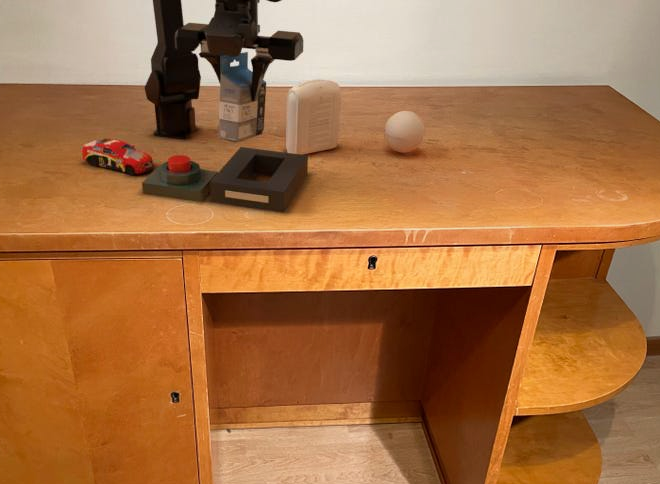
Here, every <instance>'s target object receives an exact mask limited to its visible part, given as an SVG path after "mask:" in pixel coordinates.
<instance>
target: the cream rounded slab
mask: <svg viewBox="0 0 660 484" xmlns="http://www.w3.org/2000/svg"><path fill="white" fill-rule="evenodd" d="M341 100H342V92H341V88H340V85H339V83H337V82H335V81H332V80H330V79H323V78H319V79H318V78H317V79H311V80H306V81H304V82H300V83H299V84H296V85H294V86H293V87H291V88H290V89H289V90H288V91H287V95H286V120H285V121H286V122H285V125H286V126H285V148H286V153H293V154H300V155H309V154H311V153H316V152H321V151H327V150H331V149H335V148H337V147H338V142H339V128H340V127H339V126H340V115H341V114H340V113H341Z"/></svg>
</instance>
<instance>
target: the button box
mask: <svg viewBox="0 0 660 484" xmlns="http://www.w3.org/2000/svg"><path fill="white" fill-rule="evenodd" d="M218 172H219V171H217V170H211V169H210V170H209V169H201V165H200V164H199V163H198V162H196V161H194V160H191V171H188V172H185V173H174V172H170V171H169V169H168V161H165V162H163V163H160V164H159V166H158V167H156V169H155V170H154V171H152V173H150V175H148V176H147V177H146V178H145V179H144V180H143V181H142V182H141V188H142V194H145V195H152V196H158V197H164V198H172V199H178V200H179V199H180V200H186V201H192V202H199V203H201V202H203V201H204V200H205V198H207V195H208V194H210V193H211V187H210V181H211V180H212V179H213V178H214V177H215V176H216V175H217V173H218Z"/></svg>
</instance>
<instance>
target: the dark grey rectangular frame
mask: <svg viewBox="0 0 660 484" xmlns="http://www.w3.org/2000/svg"><path fill="white" fill-rule="evenodd" d="M308 167H309V154H303V155H300V154H293V153H288V152H283V151H275V150H268V149H262V148H254V147H247V146H246V147H244V146H240V147H239V148H238V149H237V150H236V151H235V153H234V154H233V155H232V156H231V157H230V159H228V161H227V162H226V163H225V164H224V165H223V166H222V168H220V170H219V171H217V172H218V173H217V175H216V176H215V177H214V178H213V179H212V180H211V181H210V187H211V191H210V202H211V203H213V204H221V205H229V206H234V207H235V206H236V207H243V208H249V209H256V210H263V211H264V210H265V211H271V212H275V213H276V212H277V213H285V211H286V210H287V208H288V207H289V205H290V204H291V202H292V200H293V199H294V198H295V197H296V196H295V195H296V194H297V192H298V191H299V189H300V187H301V186H302V184H303V183H304V181H305V180H306V178H307V177H308V171H309V170H308ZM255 175H262V176H269V177H270V179H269V180H268V182H264V181H258V180H252V179H253V178H254V177H255Z"/></svg>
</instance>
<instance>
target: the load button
mask: <svg viewBox="0 0 660 484" xmlns="http://www.w3.org/2000/svg"><path fill="white" fill-rule="evenodd" d="M191 161H192V160H191V158H190V157H189V156H188V155H183V154H177V155H172V156H169V157H168V158H167V162H168V169H169V171H170V172H174V173H185V172H188V171H191Z"/></svg>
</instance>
